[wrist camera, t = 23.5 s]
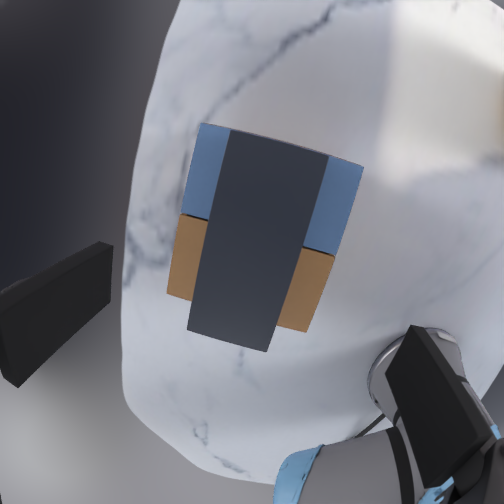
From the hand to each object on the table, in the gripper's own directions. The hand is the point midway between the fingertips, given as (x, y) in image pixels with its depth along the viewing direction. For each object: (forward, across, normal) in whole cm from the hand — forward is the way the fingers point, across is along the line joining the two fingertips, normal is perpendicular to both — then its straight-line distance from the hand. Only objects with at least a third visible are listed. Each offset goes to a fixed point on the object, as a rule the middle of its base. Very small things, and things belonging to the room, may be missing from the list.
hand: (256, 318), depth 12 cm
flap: (+13, -1, +4) cm, 13 cm away
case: (+12, -1, 0) cm, 12 cm away
